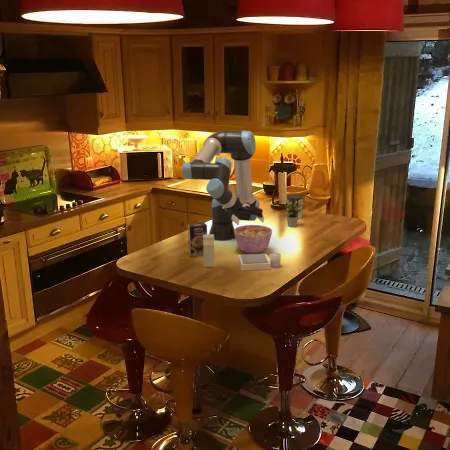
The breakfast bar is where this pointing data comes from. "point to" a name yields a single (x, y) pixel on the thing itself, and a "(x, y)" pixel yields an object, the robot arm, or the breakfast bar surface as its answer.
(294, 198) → the coffee can
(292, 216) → the house plant
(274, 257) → the white rounded capsule
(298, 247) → the breakfast bar surface
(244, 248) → the bowl of food
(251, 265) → the podium
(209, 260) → the slim carton
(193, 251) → the coffee box
